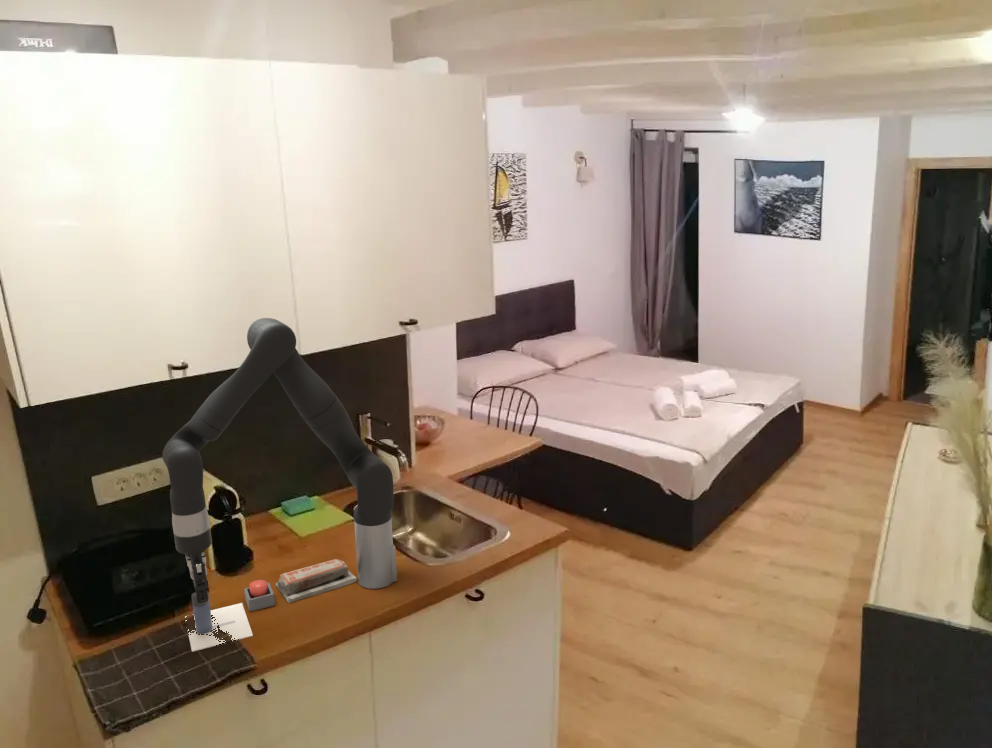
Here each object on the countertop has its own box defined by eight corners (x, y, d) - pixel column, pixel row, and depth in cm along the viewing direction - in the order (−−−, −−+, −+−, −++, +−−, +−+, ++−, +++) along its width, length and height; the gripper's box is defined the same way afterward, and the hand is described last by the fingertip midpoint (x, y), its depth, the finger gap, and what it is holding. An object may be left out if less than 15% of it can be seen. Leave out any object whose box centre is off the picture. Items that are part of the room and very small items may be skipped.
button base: (270, 593, 195) (269, 582, 194) (275, 605, 190) (273, 594, 189) (245, 599, 192) (244, 588, 191) (249, 611, 187) (248, 600, 186)
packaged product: (286, 587, 189) (273, 570, 197) (288, 605, 190) (275, 587, 198) (356, 566, 198) (341, 550, 206) (357, 583, 200) (342, 567, 208)
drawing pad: (242, 603, 190) (241, 602, 190) (252, 635, 177) (252, 635, 177) (185, 617, 185) (184, 616, 185) (192, 652, 172) (191, 651, 172)
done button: (266, 589, 193) (265, 578, 192) (269, 597, 189) (268, 585, 189) (249, 593, 191) (248, 582, 190) (252, 601, 188) (251, 590, 187)
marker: (211, 623, 182) (207, 588, 180) (213, 631, 179) (209, 596, 177) (195, 627, 181) (190, 592, 178) (196, 635, 178) (192, 600, 175)
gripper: (213, 537, 168) (222, 603, 173) (205, 511, 181) (213, 574, 185) (176, 545, 165) (186, 612, 170) (170, 518, 178) (179, 582, 182)
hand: (200, 592), depth 177 cm, fingers open, 8 cm apart
